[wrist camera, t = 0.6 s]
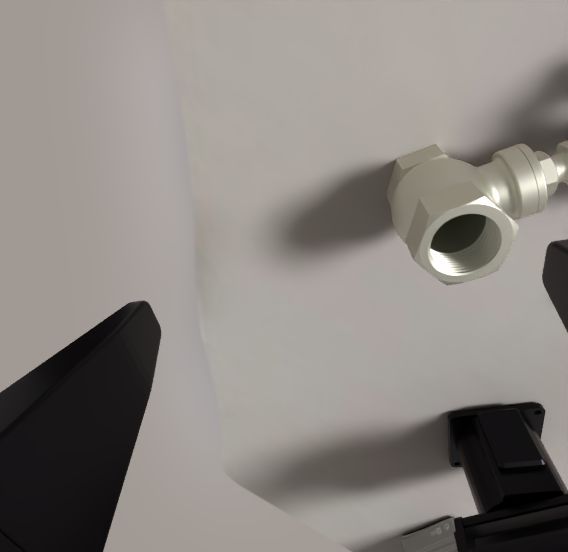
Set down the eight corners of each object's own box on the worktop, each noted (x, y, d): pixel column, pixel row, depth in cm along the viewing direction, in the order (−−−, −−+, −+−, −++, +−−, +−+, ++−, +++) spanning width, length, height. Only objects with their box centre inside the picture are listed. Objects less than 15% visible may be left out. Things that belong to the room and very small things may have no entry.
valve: (398, 247, 23) (643, 167, 20) (427, 324, 17) (775, 230, 14) (363, 135, 19) (651, 18, 16) (386, 187, 14) (827, 25, 11)
